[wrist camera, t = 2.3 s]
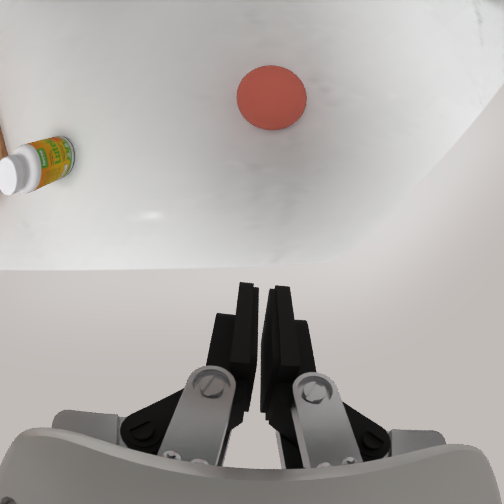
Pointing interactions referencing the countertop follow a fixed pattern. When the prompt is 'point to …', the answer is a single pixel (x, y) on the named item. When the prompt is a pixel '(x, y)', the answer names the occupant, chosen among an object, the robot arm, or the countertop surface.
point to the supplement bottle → (36, 165)
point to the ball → (271, 97)
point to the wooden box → (2, 147)
